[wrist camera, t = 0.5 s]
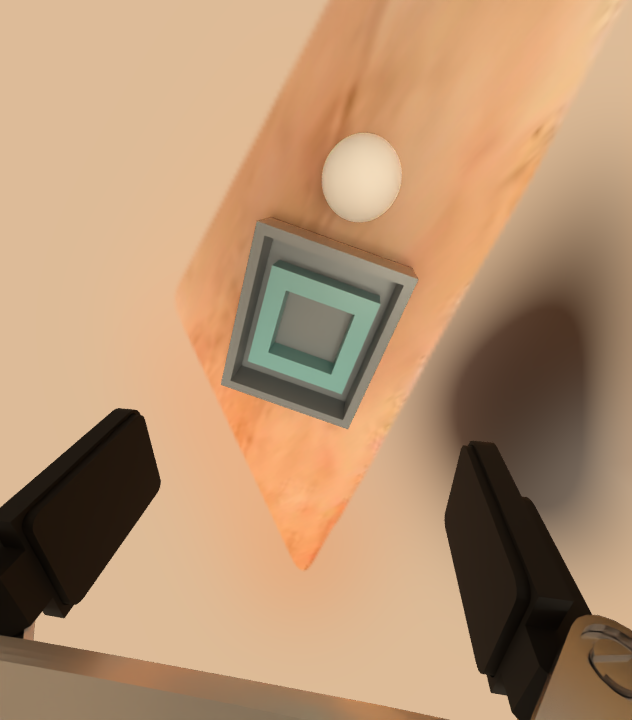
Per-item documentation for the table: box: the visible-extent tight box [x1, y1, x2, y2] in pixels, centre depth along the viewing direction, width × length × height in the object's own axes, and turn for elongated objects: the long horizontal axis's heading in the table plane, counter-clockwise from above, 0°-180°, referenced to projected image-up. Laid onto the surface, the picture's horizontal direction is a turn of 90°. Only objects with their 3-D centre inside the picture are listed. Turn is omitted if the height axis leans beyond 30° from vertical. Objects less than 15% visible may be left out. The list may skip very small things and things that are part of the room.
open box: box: [221, 217, 418, 429], centre depth 39 cm, size 19×16×5 cm
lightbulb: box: [322, 133, 402, 222], centre depth 29 cm, size 6×6×11 cm
